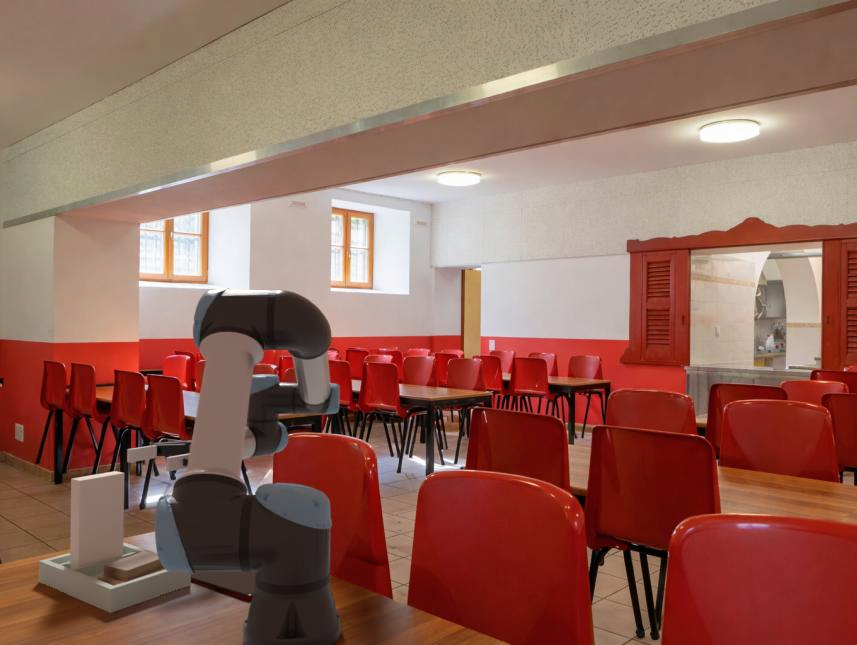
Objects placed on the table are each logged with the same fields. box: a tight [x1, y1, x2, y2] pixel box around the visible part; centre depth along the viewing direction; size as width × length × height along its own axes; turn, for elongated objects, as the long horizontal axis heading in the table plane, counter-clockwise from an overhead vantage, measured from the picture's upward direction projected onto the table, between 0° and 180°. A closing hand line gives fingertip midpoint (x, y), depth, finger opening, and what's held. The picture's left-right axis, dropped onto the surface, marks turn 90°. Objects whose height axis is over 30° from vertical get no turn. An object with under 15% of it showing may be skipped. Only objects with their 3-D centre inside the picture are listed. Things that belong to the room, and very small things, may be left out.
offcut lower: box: [98, 568, 165, 586], centre depth 131 cm, size 7×10×2 cm
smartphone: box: [191, 571, 255, 602], centre depth 138 cm, size 12×2×25 cm
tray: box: [38, 541, 192, 614], centre depth 134 cm, size 24×16×4 cm, turn 55°
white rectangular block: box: [69, 470, 125, 569], centre depth 138 cm, size 3×9×18 cm, turn 145°
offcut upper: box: [104, 551, 163, 582], centre depth 131 cm, size 6×9×2 cm, turn 153°
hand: (147, 460), depth 147 cm, fingers open, 13 cm apart
